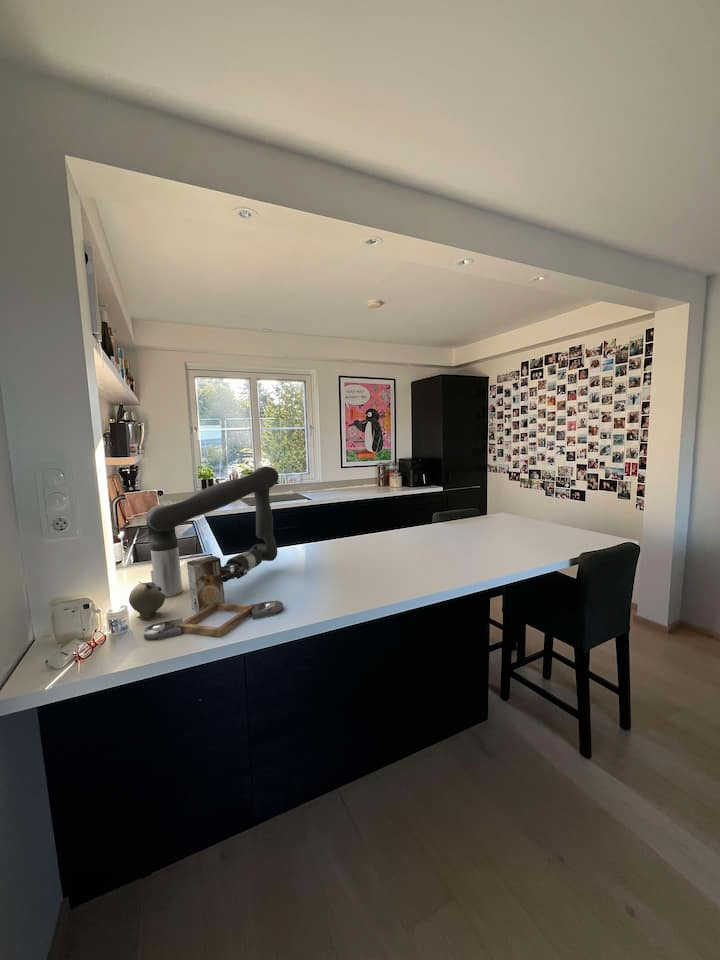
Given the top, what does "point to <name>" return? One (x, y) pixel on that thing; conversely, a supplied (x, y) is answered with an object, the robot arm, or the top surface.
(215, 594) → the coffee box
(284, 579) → the top surface
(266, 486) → the robot arm
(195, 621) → the wooden picture frame
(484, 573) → the top surface
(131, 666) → the top surface
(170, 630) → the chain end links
